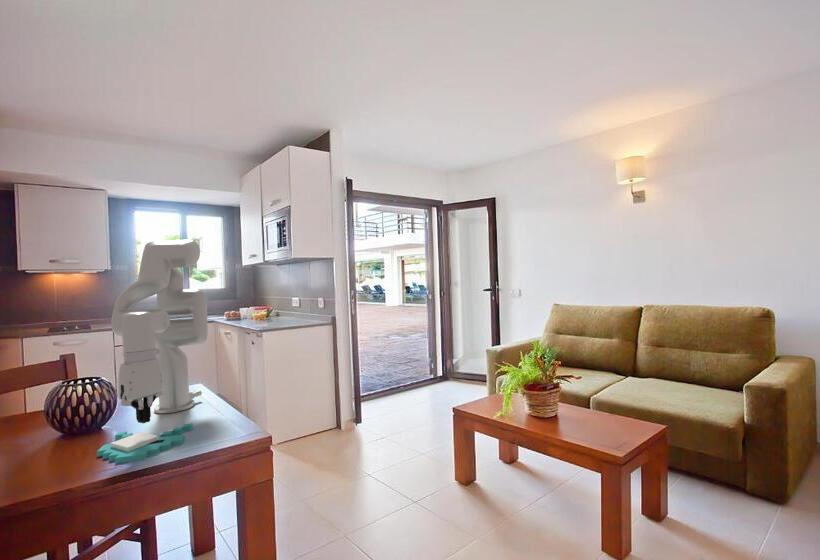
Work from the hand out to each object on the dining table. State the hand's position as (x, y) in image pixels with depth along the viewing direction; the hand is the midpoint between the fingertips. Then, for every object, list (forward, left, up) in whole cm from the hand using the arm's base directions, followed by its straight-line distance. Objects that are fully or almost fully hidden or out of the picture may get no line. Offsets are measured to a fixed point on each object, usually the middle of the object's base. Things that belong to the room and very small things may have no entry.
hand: (143, 421), depth 115 cm
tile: (-2, -1, -5) cm, 5 cm away
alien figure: (0, 0, -8) cm, 8 cm away
